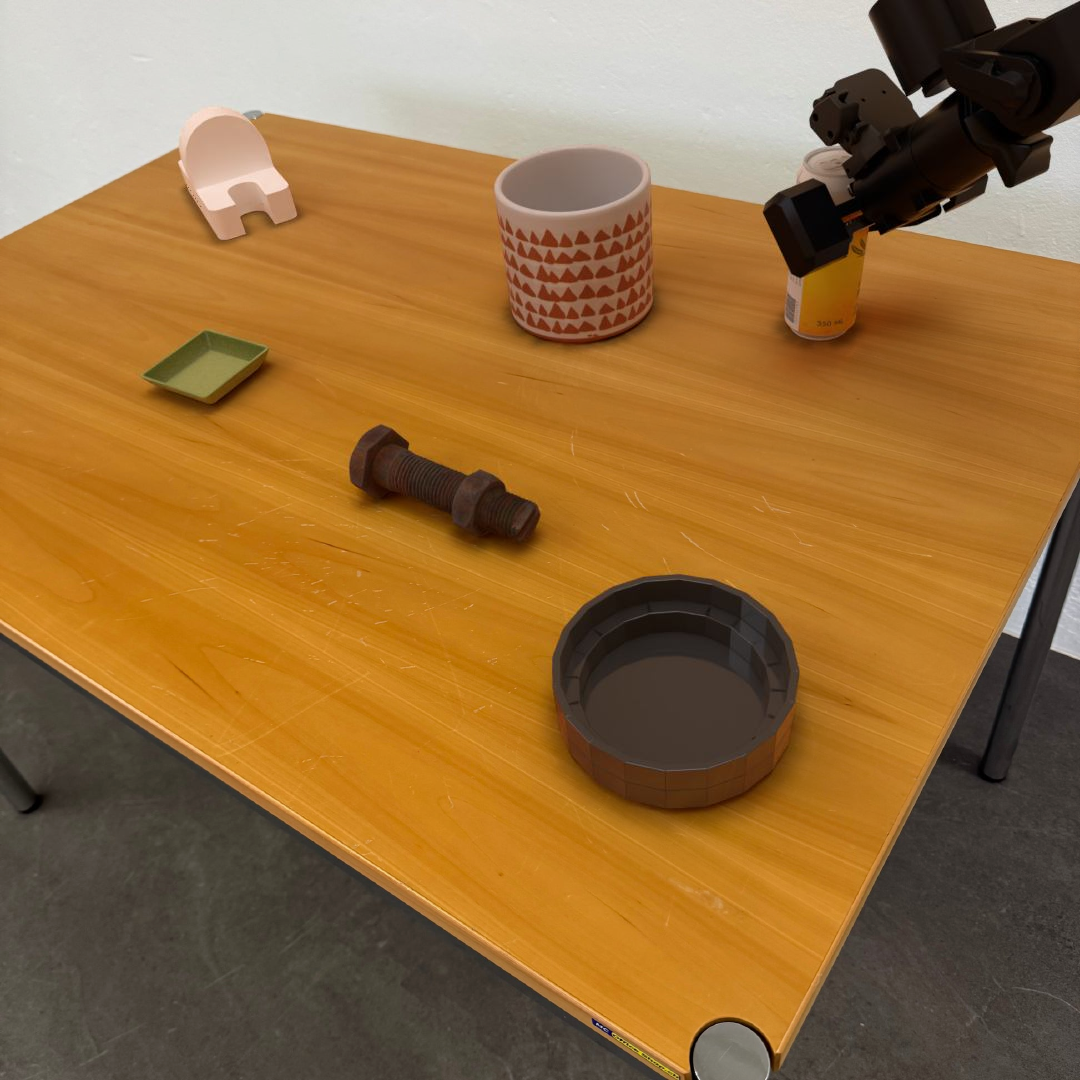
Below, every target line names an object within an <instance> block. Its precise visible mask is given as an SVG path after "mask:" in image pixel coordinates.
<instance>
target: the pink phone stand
mask: <svg viewBox="0 0 1080 1080" xmlns="http://www.w3.org/2000/svg"><path fill="white" fill-rule="evenodd" d="M178 151H179V156H180V160H178V162H177V164H178V166H179V169H180V171H181V175H182V177H183V180H184V183H185V185H186V184H187V185H186V187H187V190H188V192H189V194H190V195H191V198H192V199H193V200H194V202H195V204H196V205H197V207H198V208H199V210H200V211H201V213H202V214H203V216H204V218H205V219H206V221H207V222H208V224H209V226H210V228H211V229H212V231H213V233H215V236H216V237H217V239H219V240H220V241H228V240H231V239H235V238H238V237H242V236H244V235H247V233H246V230H245V227H244V225H243V221H242V219H241V217H242V216H244V215H245V214H249V213H252V212H265V213H266V214H267V215H268V217H269V219H270V220H271V221H272V222H273V223H274V225H276V226H277V225H279V224H281V223H285V222H288V221H291V220H293V219H295V218H297V216H298V212H297V209H296V206H295V202H294V199H293V196H292V192H291V188H290V186H289V183H288V181H286V179H285V178H284V177H283V176H282V175H281V173H280V172H279V171H278V170H277V169H276V168H275V166H274V164H273V161H272V157H271V154H270V150H269V147H268V145H267V142H266V140H265V138H264V136H263V135H262V134H261V132H260V131H259V130H258V129H257V127H256V126H255V125H254V124H253V123H252V122H251V120H250V119H249V118H248V117H246V116H245V115H244V114H242V113H241V112H240V111H238V110H235V109H233V108H231V107H227V106H220V105H215V106H208V107H204V108H202V109H199V110H198V111H196V112H195V113H194V114H193V115H191V116H190V117H189V118H188V119H187V121H186V122H185V123H184V125H183V126H182V128H181V132H180V134H179V139H178ZM188 187H189V188H188ZM190 190H191V191H190ZM193 195H194V196H193ZM195 198H196V199H195ZM197 201H198V202H197ZM249 203H251V204H249ZM261 203H262V204H261ZM246 204H247V205H246ZM263 204H264V205H263ZM200 206H201V207H200Z"/></svg>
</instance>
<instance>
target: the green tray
mask: <svg viewBox="0 0 1080 1080" xmlns="http://www.w3.org/2000/svg"><path fill="white" fill-rule="evenodd" d="M269 350H270V347H269V345H267V344H266V345H265V344H263V343H259V342H255V341H252V340H248V339H245V338H241V337H237V336H234V335H231V334H227V333H224V332H220V331H217V330H214V329H211V328H206V329H203V330H201V331H199V332H198V333H197V334H195V335H193V336H192V337H191V338H189V339H188V340H187V341H185V342H184V343H182V344H181V345H180V346H179V347H177V348H176V349H174V350H173V351H172V352H170V353H169V354H167V355H166V356H164V357H163V358H161V359H160V360H159V361H157V362H156V363H154V365H152V366H150V367H149V368H147V369H146V370H145V371H144V372H142V373H141V374H140V375H139V376H140V378H141V379H142V380H144V381H146V382H147V383H150V384H152V385H154V386H156V387H158V388H161V389H164V390H167V391H169V392H173V393H175V394H178V395H182V396H185V397H188V398H190V399H193V400H196V401H199V402H202V403H205V404H208V405H214V404H215V403H217V402H218V401H219V400H221V399H222V398H223V397H224V396H226V395H227V394H228V393H230V392H231V391H232V390H234V389H235V388H236V387H238V385H240V384H242V382H243V381H245V380H246V379H247V378H249V377H250V376H252V375H253V373H255V372H256V371H258V369H259V368H260V367H261V366H262V364H263V363H264V361H265V359H266V358H267V355H268V353H269Z"/></svg>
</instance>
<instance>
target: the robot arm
mask: <svg viewBox="0 0 1080 1080" xmlns="http://www.w3.org/2000/svg"><path fill="white" fill-rule="evenodd" d="M867 16H868V19H869V20H870V23H871V25H872V27H873V29H874V31H875V33H876V36H877V37H878V40H879V42H880V44H881V47H882V49H883V51H884V53H885V56H886V57H887V59H888V62H889V64H890V66H891V68H892V70H893V73H894V75H895V76H896V79H897V81H898V83H899V85H900V87H901V89H900V88H899V86H898V85H897V84H896V83H895V82H894V81H893V80H892V78H890V77H889V75H888V74H887V73H886V72H885V71H883V70H882V69H879V68H875V67H873V68H872V67H871V68H867V69H863V70H861V71H859V72H856V73H853V74H851V75H848V76H846V77H842V78H841V79H837V80H836V81H835V82H834V84H833V86H832V87H828V88H827V89H826V88H825V89H824V92H823V94H822V95H821V96H820V97H818V98H816V99H814V100H813V102H812V111H811V113H810V116H809V119H808V123H809V127H810V129H811V130H812V132H813V133H814V134H815V135H816V136H817V137H818V139H819V140H820V141H821V142H822V143H823V144H824V146H825V147H828V146H836V145H837V144H838V146H841V147H842V148H843V149H844V150H845V151H846V152H847V153H848V154H850V155H853V156H851V157H850V158H849V159H848V160H846V161H845V162H844V163H843V164H842V166H843V168H844V170H845V172H846V175H847V177H848V178H849V179H852V178H854V180H855V181H854V182H852V183H850V184H849V185H847V190H848V192H849V194H850V196H851V197H854V196H855V198H853V199H850V200H848V201H846V202H843V203H841V204H839V205H835V203H834V201H833V199H832V197H831V195H830V193H829V190H828V188H827V186H826V184H825V183H823V182H821V181H819V180H816V179H814V178H812V179H809V180H807V181H804V182H802V183H800V184H797V185H796V184H795V185H793V186H790V187H788V188H787V187H786V188H785V189H783V190H780V191H778V192H777V193H775V194H774V195H772V197H770V198H769V199H768V200H767V201H766V202H765V203H764V206H763V209H762V215H763V217H764V219H765V221H766V223H767V225H768V227H769V229H770V232H771V233H772V236H773V239H774V240H775V243H776V245H777V247H778V249H779V251H780V253H781V255H782V257H783V259H784V261H785V263H786V266H787V268H788V271H789V270H790V272H791V274H792V275H794V276H796V277H798V278H802V277H805V276H807V275H809V274H811V273H813V272H816V271H818V270H820V269H822V268H825V267H827V266H829V265H830V264H832V263H835V262H837V261H839V260H841V259H844V258H846V257H847V255H848V253H849V246H850V244H851V243H852V241H853V234H854V233H855V232H858V231H860V230H862V229H864V228H867V227H869V231H868V233H871V232H878V233H879V236H883V235H886V234H887V233H890V232H892V231H895V230H897V229H903V228H910V227H916V226H920V225H921V224H923V223H926V222H928V221H930V220H933V219H935V218H937V217H939V216H940V215H941V214H942V211H943V212H944V214H947V213H949V212H951V211H955V209H958V208H960V207H963V206H964V205H968V204H969V203H971V202H972V201H974V200H976V199H977V198H979V197H981V196H982V195H984V194H985V193H986V190H987V186H988V181H989V174H988V173H990V172H991V171H993V170H995V169H996V170H997V173H998V175H999V176H1000V179H1001V182H1002V183H1003V185H1004V187H1005V188H1007V189H1012V188H1015V187H1016V186H1018V185H1021V184H1023V183H1026V182H1028V181H1029V180H1032V179H1035V178H1037V177H1039V176H1040V175H1043V174H1045V173H1047V172H1048V171H1049V169H1050V166H1051V159H1052V153H1051V147H1052V144H1053V143H1054V137H1053V135H1051V134H1047V133H1045V131H1046V130H1048V129H1049V130H1050V129H1051V128H1053V127H1056V126H1058V125H1060V124H1063V123H1065V122H1067V121H1069V120H1072V119H1074V118H1076V117H1079V116H1080V0H1078V1H1076V2H1073V4H1070V5H1068V6H1066V7H1064V8H1062V9H1060V10H1058V11H1056V12H1053V13H1052V14H1050V15H1048V16H1046V17H1044V18H1043V17H1024V18H1022V19H1020V20H1017V21H1014V22H1012V23H1008V24H1006V25H1004V26H1001V27H999V28H998V27H997V25H996V22H995V20H994V18H993V16H992V13H991V11H990V9H989V7H988V5H987V2H986V0H876V1H875V3H874V4H873V5H872V6H871V7H870V9H869V11H868V13H867ZM950 88H952V89H953V90H954V91H953V92H951V93H950V94H949V95H948V96H946V97H944V99H942V100H941V101H940V102H938V103H937V104H936V105H935V106H933V107H932V108H930V109H929V110H928V111H927V112H926V113H924V114H923V115H921V116H919V114H918V113H917V111H916V110H915V109H914V105H913V102H912V100H910V98H909V97H910V96H912V95H913V94H915V93H917V92H919V91H920V90H921V93H922V95H923V97H924V98H925V99H928V98H932V97H934V96H936V95H938V94H941V93H943V92H945V91H946V90H948V89H950ZM948 199H949V200H948ZM945 200H948V201H946V202H945V203H944V204H941V203H942V202H944V201H945ZM861 212H862V213H863V214H862V215H860V216H858V217H856V218H853V219H850V220H849V221H846V222H843V220H845V219H847V218H850V217H852V216H854V215H857V214H859V213H861Z"/></svg>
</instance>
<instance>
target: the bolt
mask: <svg viewBox="0 0 1080 1080" xmlns="http://www.w3.org/2000/svg"><path fill="white" fill-rule="evenodd" d="M354 446H355V447H354V448H353V451H352V452H351V454H350V456H349V463H348V474H349V481H350V483H351V484H352V485H353V486H355V487H356V488H358V489H359V490H360V491H362V492H364V493H366V494H368V495H370V496H372V497H373V498H376V499H379V500H381V499H382V498H384V497H385V495H386V494H388V492H390V491H391V492H394V493H399V494H402V495H404V496H406V497H409V498H411V499H413V500H415V501H419V502H420V503H423V504H425V505H427V506H430V507H432V508H434V509H436V510H439V511H441V512H444V513H446V514H448V515H451V517H452V523H453V524H454V525H456V527H458V528H460V529H461V530H463V531H464V532H467V533H469V534H471V535H473V536H476V537H477V538H481V537H482V536H484V535H487V534H488V533H492V534H495V535H497V536H499V537H502V538H504V539H507V540H508V541H510V542H513V543H515V544H520V543H524V542H526V541H527V540H528V539H529V538H530V537H531V536H532V535H533V533H534V532H535V530H536V528H537V526H538V524H539V520H540V518H541V511H540V509H539V505H538V504H537V503H536V502H534V501H532V500H529V499H526V498H524V497H521V496H520V495H517V494H514V493H513V492H512V493H511V492H510V491H507V487H506V485H505V483H504V481H502V480H501V479H500V478H499V477H497V476H496V475H495V474H493V473H490V472H488V471H485V470H484V469H478V470H476V471H473V472H471V473H470V474H466V473H463V472H461V471H458V470H457V469H456V470H455V469H454V468H451V467H448V466H446V465H443V464H440V463H437V462H436V461H433V460H430V459H428V458H427V457H423V456H422V455H418V454H416V453H414V452H413V451H411V450H410V449H409V447H410V442H409V441H408V440H406V439H405V438H404V437H403V436H402V435H401V434H400V433H398V431H396V430H394V429H393V428H392V427H389V426H387V425H384V424H382V423H381V424H377V425H376V426H374V427H372V428H370V429H368V430H367V431H365V432H364V433H363V434H362V435H361V437H360V438H359V439H358V441H357V442H356V445H354Z"/></svg>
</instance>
